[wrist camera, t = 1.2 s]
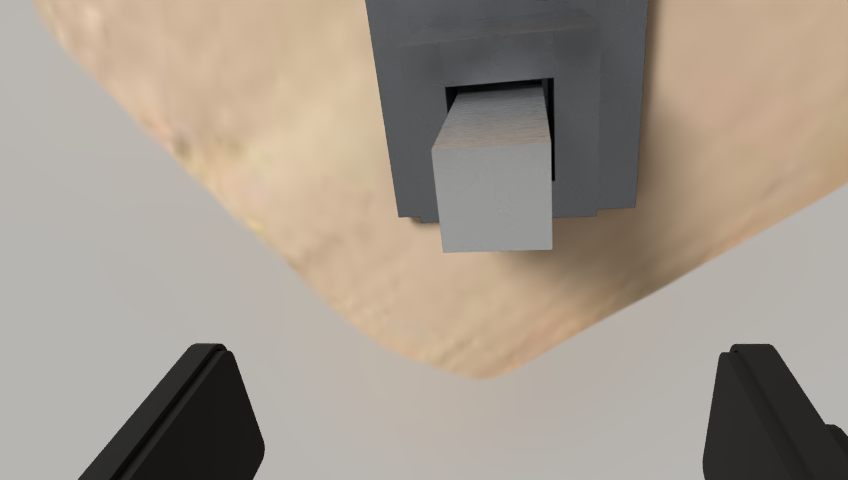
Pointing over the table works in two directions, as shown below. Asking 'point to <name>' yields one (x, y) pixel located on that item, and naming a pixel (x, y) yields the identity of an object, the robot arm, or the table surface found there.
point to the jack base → (513, 61)
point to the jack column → (495, 169)
